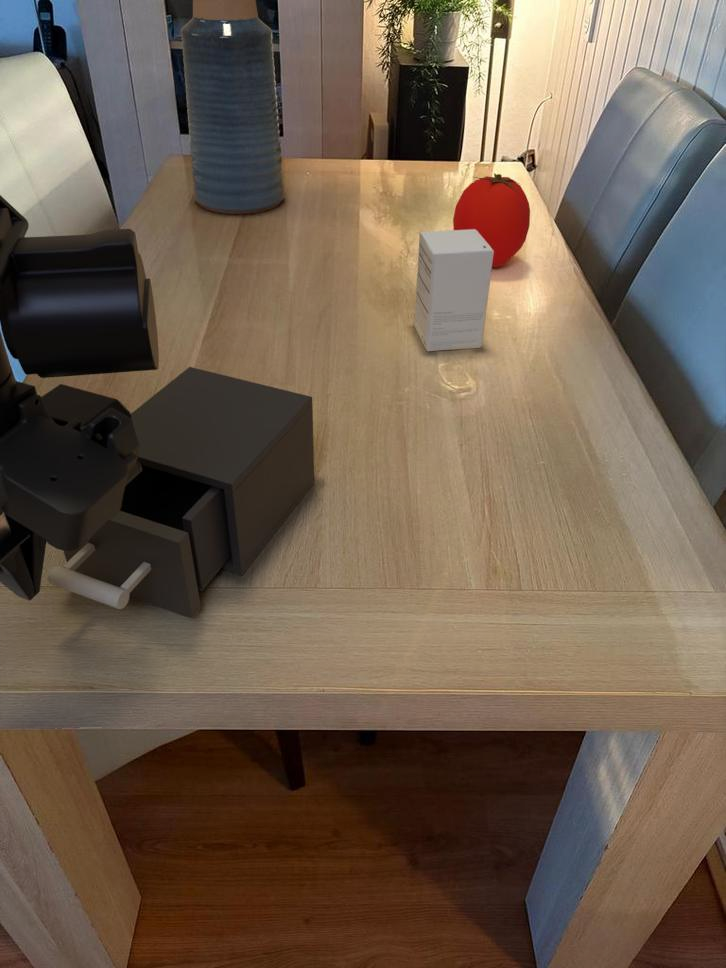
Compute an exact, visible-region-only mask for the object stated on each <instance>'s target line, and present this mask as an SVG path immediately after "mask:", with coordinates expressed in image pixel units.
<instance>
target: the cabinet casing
mask: <svg viewBox="0 0 726 968" xmlns="http://www.w3.org/2000/svg"><path fill="white" fill-rule="evenodd" d="M313 407H314V406H313V396H310V395H306V394H302V393H298V392H294V391H290V390H286V389H282V388H278V387H274V386H270V385H265V384H261V383H257V382H253V381H249V380H245V379H240V378H238V377H233V376H230V375H224V374H221V373H217V372H212V371H209V370H204V369H201V368H195V367H193V366H189V367H187V368H186V369H185V370H183V371H182V372H181V373H180V374H178V375H177V376H176V377H175V378H173V380H171V381H170V382H168V383H167V384H166V385H165V386H164V387H162V388H161V389H160V390H158V392H156V393H155V394H153V395H152V396H151V397H150V398H148V399H147V400H146V401H145V402H143V403H142V404H141V405H139V407H137V408H136V409H134V411H132V412H130V413H131V417H132V422H133V426H134V429H135V432H136V436H137V439H138V442H139V453H138V458H137V461H139V463H140V464H141V465H143V466H146V467H150V468H153V469H156V470H160V471H163V472H167V473H170V474H173V475H177V476H180V477H183V478H187V479H190V480H193V481H197V482H200V483H203V484H207V485H210V486H214V487H217V488H220V489H224V494H225V502H226V511H227V519H228V527H229V536H230V544H231V552H232V555H231V556H230V558H229V559H228V560H227V561H226V563H225V564H224V565H223V566H222V568H221V569H220V570H222V571H226V572H229V573H232V574H234V575H237V576H240V577H242V576H244V574H245V573H246V572H247V571H248V569H250V567H251V565H252V564H253V563H254V561H255V560H256V559H257V558H258V556H259V555H260V553H262V551H263V550H264V549H265V547H266V546H267V545H268V543H270V541H271V540H272V538H273V537H274V536H275V535H276V533H277V532H278V530H280V528H281V527H282V526H283V524H284V523H285V521H286V520H287V519H288V518H289V516H290V515H291V514H292V513H293V511H294V510H295V509H296V508H297V506H298V505H299V504H300V502H301V501H302V500H303V499H304V497H305V496H306V495H307V493H308V492H309V491H310V489H311V488H312V487H313V486H314V484H315V456H314V454H315V453H314V451H315V450H314V415H313V414H314V412H313V411H314V410H313V409H314V408H313Z"/></svg>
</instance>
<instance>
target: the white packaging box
mask: <svg viewBox="0 0 726 968" xmlns="http://www.w3.org/2000/svg"><path fill="white" fill-rule="evenodd" d="M417 253H418V255H417V269H416V270H417V271H416V272H417V273H416V286H415V287H416V288H415V301H414V302H415V303H414V315H413V326H414V328H415V330H416V333H417V334H418V337H419V339H420V341H421V343H422V346H423V347H424V348H425V350H426V352H438V351H450V350H451V351H452V350H465V349H466V350H467V349H479V348H482V347H483V339H484V331H485V325H486V316H487V309H488V308H487V307H488V301H489V293H490V284H491V278H492V269H493V267H492V262H493V255H494V251H493V250H492V248H491V247H490V246H489V244H488V243H487V242H486V241H485V240H484V238H483V237H482V236H481V235H480V234H479V233H478V231H477V230H476V229H469V230H454V229H453V230H449V229H448V230H431V231H429V230H428V231H419V238H418V252H417Z"/></svg>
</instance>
